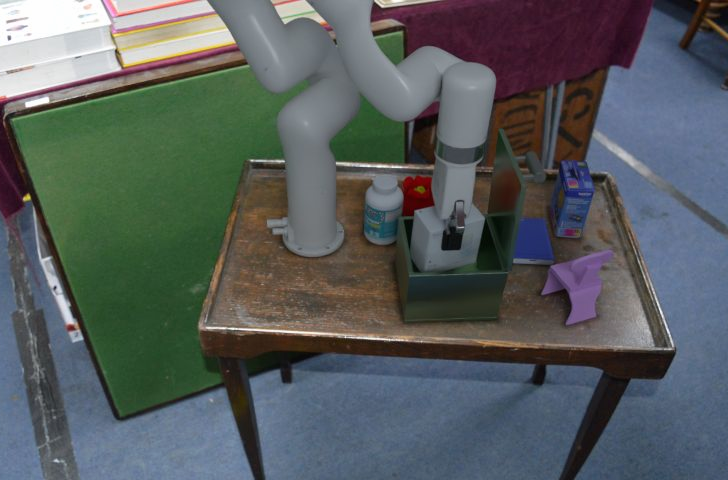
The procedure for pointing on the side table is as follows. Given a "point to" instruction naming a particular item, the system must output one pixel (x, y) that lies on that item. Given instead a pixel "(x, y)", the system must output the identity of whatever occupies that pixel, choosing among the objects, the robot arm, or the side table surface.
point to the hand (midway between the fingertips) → (446, 232)
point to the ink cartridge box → (571, 199)
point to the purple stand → (579, 283)
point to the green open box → (450, 282)
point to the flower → (416, 194)
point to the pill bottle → (383, 210)
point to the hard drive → (533, 243)
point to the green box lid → (509, 194)
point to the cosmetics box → (430, 240)
